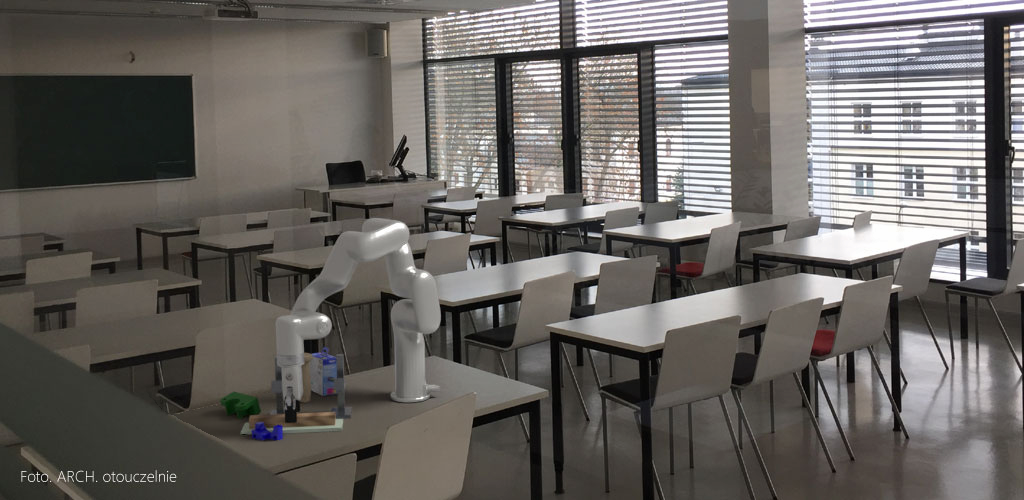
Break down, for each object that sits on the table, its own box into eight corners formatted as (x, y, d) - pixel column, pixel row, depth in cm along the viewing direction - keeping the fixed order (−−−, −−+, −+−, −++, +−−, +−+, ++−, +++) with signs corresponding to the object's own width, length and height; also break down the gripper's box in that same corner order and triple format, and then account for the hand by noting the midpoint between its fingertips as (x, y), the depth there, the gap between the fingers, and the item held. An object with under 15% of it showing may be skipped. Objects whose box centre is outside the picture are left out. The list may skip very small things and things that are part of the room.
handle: (303, 405, 293) (301, 358, 291) (293, 400, 298) (291, 354, 296) (317, 402, 296) (315, 355, 294) (307, 397, 301) (305, 351, 299)
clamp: (229, 428, 286) (215, 401, 285) (244, 418, 290) (230, 392, 289) (249, 421, 278) (234, 394, 277) (264, 411, 282) (250, 384, 281)
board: (343, 422, 277) (343, 418, 277) (341, 430, 269) (341, 427, 269) (245, 426, 273) (245, 422, 273) (240, 435, 265) (240, 431, 265)
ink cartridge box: (338, 393, 306) (337, 350, 304) (323, 396, 302) (321, 352, 300) (324, 387, 313) (322, 344, 311) (309, 390, 310) (307, 347, 308)
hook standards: (351, 410, 288) (350, 352, 286) (350, 419, 279) (348, 360, 277) (271, 413, 285) (269, 355, 283) (267, 422, 276) (265, 362, 274)
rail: (335, 421, 274) (335, 411, 273) (335, 425, 271) (334, 415, 270) (250, 425, 271) (250, 415, 270) (249, 428, 268) (248, 418, 267)
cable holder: (251, 439, 263) (251, 425, 262) (260, 435, 266) (259, 421, 266) (274, 443, 260) (274, 429, 259) (282, 439, 263) (282, 425, 262)
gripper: (301, 366, 260) (303, 426, 263) (306, 351, 277) (308, 407, 280) (273, 367, 259) (275, 427, 262) (280, 352, 276) (283, 408, 279)
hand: (292, 417), depth 271 cm, fingers open, 9 cm apart
